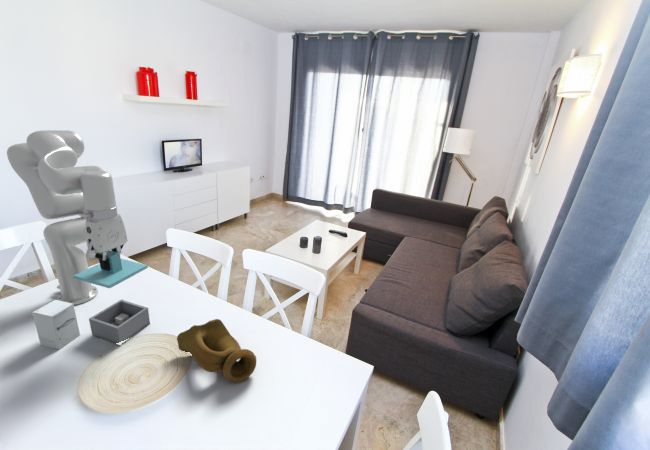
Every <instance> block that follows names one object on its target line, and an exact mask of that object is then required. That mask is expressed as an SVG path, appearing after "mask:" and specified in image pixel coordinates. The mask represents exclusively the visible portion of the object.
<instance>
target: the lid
mask: <svg viewBox="0 0 650 450" xmlns="http://www.w3.org/2000/svg"><path fill="white" fill-rule="evenodd" d="M106 253H107V259H109V263H110V271H106V270H103V269H101V267H100V263H98V264H96V265H93V266H91V267H88V269H87V270H85V271H82V272H80V273H78V274H76V275H73V276H74V278H75V279H78V280H82V281H85V282H89V283H91V284H92V285H96V286H99V287H103V288H108V289H111V288H113V287H115V286H117V285H118V284H121V283H123V282H125V281H126V280H128V279H130V278H132V277H134V276H135V275H137V274H139V273H140V272H143V271H145V270H146V269H148V267H149V266H148V264H143V263H141V262H135V261H133V260H128V259H123V258H121V253H118V252H114V251H111V250H109V251H107V252H106ZM101 255H102V253H101Z"/></svg>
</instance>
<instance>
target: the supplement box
mask: <svg viewBox="0 0 650 450" xmlns="http://www.w3.org/2000/svg"><path fill="white" fill-rule="evenodd" d="M31 314H32V318H33V321H34V326H35V328H36V332H37V336H38V339H39V343H40V346H41V345H42V346H45V347H48V348H52V349H54V350H55V349H56V350H61V349H62V348H63V347H64V346H66V345H68V343H70V342H71V341H73V340H74V339H76V338H77V337H79V336H80V335H81V332H80V328H79V324H78V318H77V314H76V309H75V305H74V304H72V303H68V302H63V301H59V300H57V299H55V300H52V301H50V302H49V303H46V304H45V305H43V306H41V307H39V308H37V309H36V310H34V311H32V312H31Z"/></svg>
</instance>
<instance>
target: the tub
mask: <svg viewBox="0 0 650 450" xmlns="http://www.w3.org/2000/svg"><path fill="white" fill-rule="evenodd" d="M88 321H89V326H90V330H91V334H92V337H95V338H98V339H100V340H103V341H106V342H109V343H111V344H114V345H116V343H119V342H121V341H124V340H126V339H128V338H130V337H132V338H134V337H135V336H136V335H137V334H138V333H140V332H142V331H143V330H144V329H146V328H147V327H149V325H151V320H150V312H149V307H147V306H144V305H140V304H138V303H134V302H130V301H128V300H124V299H120V300H118V301H117V302H114V303H113V304H111V305H109V306H108V307H106V308H105V309H103V310H101V311H100V312H98V313H96V314H94V315H93V316H91V317H89V318H88Z"/></svg>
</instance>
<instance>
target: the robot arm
mask: <svg viewBox="0 0 650 450" xmlns="http://www.w3.org/2000/svg"><path fill="white" fill-rule="evenodd" d="M84 151H85V143H84V140H83V138H82V137H81V136H80V135H79V133H77V132H75V131H73V130H56V129H55V130H45V129H44V130H36V131H34V132H31V133H30V134H29V135H28V136H27V137H26V142H25V143H24V142H21V143H16V144H12V145H11V146H9V147H8V148H7V149H6V156H7V160H8V162H9V165H10V166H11V168H12V170H13V171H14V172H15V174H16V175H17V176H18V177H19V178H20V179H21V180H22V181H23V182H24V183H25V185H26V187H27V189H28V190H29V193H30V195H31V198H32V200H33V203H34V204H35V206H36V208H37V210H38V212H39V215H40V216H41V217H42V218H43V219H45V220H57V219H64V218H68V217H73V216H79V217H75V218H71V219H65V220H61V221H55V222H53V223H50V224H48V225H47V226H46V227H44V229H43V237H44V240H45V242H46V244H47V246H48V248H49V251H50V254H51V256H52V259H53V264H54V267H55V273H56V276H57V280H58V284H59V285H57V286H56V288H57V289H58V290H60V294H59V295H58V296H57V298H56V300H59V301H63V302H68V303H72V304H74V306H75V305H80V304H83V303H87V302H89V301H90V300H92V299H94V298H96V296H97V295H98V293H99V291H98V287H96V286H94V285H93V284H92V283H89V282H85V281H82V280H78V279H75V278H74V276H73V275H76V274H78V273H80V272H82V271H85V270H87V269H89V266H88V259H87V257H89V258H94V259H95V258H96V259H97V260H98V261H99V264H100V267H101V269H103V270H106V271H110V263H109V259H107V253H106V252H107V251H109V250H110V251H114V252H118V253H120V254H122V250H123V248H124V246H125V245H126V243H128V236H127V235H128V234H127V231H126V226H125V223H124V220H123V218H122V216H121V214H120V213H118V209H117V201H116V195H115V189H114V182H113V181H114V180H113V176H112V174H111V173H110V172H108V171H105V170H103V168H101V167H100V166H97V165H86V166H84V165H83V166H76V165H77V163H78V159H79V158H80V157H82V155H83V154H84ZM83 243H86V247H87V250H86V253H85V252H84V251H83V249H81V248H79V247H77V246H78V245H80V244H83ZM101 253H102V255H101Z"/></svg>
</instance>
